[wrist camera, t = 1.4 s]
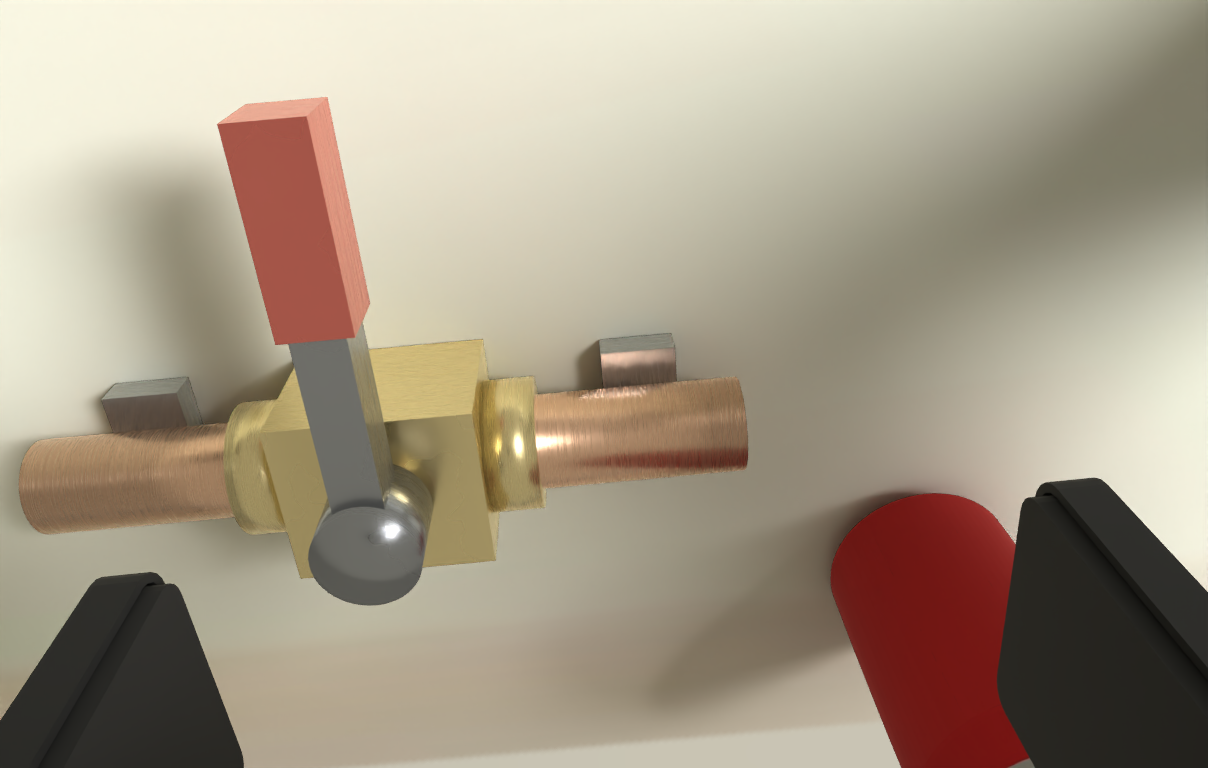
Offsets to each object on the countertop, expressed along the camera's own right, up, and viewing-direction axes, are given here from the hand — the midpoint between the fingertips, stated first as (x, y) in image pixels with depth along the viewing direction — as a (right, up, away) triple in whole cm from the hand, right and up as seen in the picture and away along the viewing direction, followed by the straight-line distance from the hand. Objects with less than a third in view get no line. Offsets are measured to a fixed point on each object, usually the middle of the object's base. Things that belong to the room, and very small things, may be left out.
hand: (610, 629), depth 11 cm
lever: (-7, +4, +15) cm, 17 cm away
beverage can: (+12, -4, +26) cm, 28 cm away
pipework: (-7, +2, +22) cm, 23 cm away
